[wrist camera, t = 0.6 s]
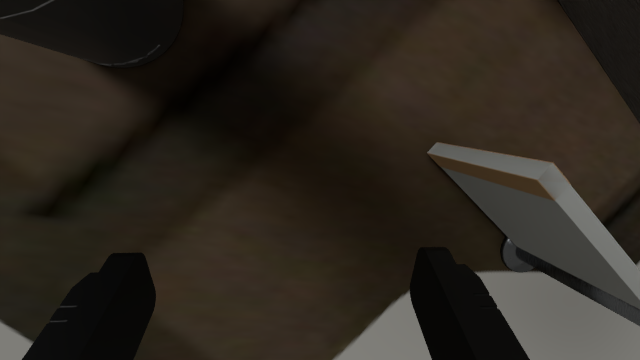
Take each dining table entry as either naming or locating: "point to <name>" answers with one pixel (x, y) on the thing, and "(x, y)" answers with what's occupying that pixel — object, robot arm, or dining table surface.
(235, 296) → the dining table surface
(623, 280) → the white wooden panel
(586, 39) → the server box
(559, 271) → the hinge post
